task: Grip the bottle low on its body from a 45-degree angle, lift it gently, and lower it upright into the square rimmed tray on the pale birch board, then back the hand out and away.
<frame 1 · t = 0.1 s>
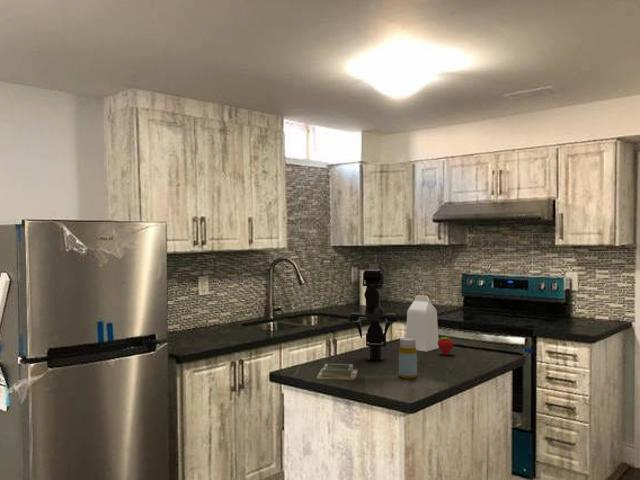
hand: (372, 338, 230), 15 cm above the worktop, tool pointing down, fingers open, 9 cm apart
bottle: (407, 377, 226), on the worktop
strawberry: (445, 355, 265), on the worktop
square rimmed tray: (337, 374, 230), on the worktop
milk: (422, 348, 283), on the worktop
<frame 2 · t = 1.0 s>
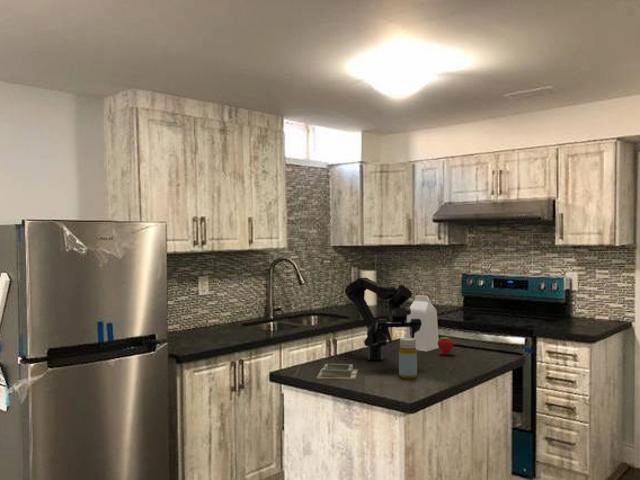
hand: (401, 342, 233), 12 cm above the worktop, tool tilted 45°, fingers open, 9 cm apart
nothing on the worktop moved.
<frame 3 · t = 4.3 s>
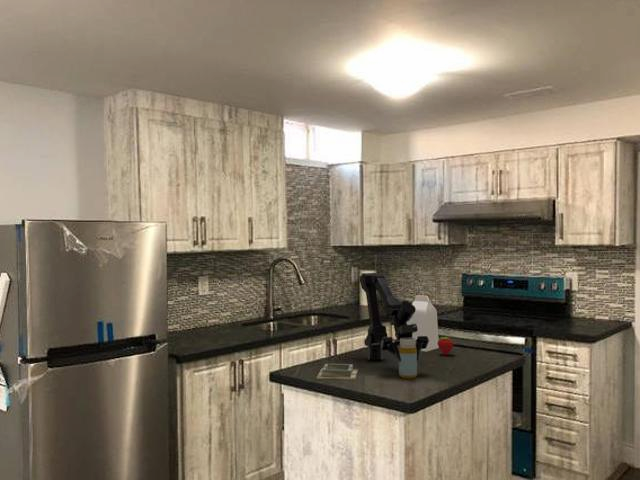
hand: (408, 360, 225), 7 cm above the worktop, tool tilted 45°, fingers closed on bottle, 7 cm apart
bottle: (407, 377, 226), on the worktop, touching gripper
everything else where it was.
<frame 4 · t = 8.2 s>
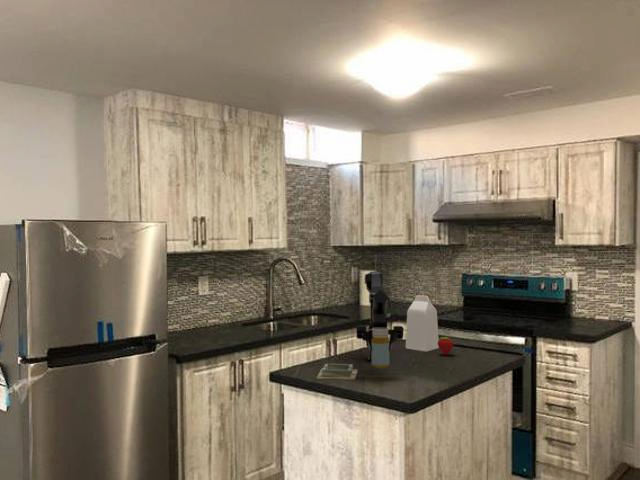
hand: (380, 350, 223), 11 cm above the worktop, tool tilted 45°, fingers closed on bottle, 7 cm apart
bottle: (380, 366, 225), point 4 cm above the worktop, touching gripper
everything else where it was.
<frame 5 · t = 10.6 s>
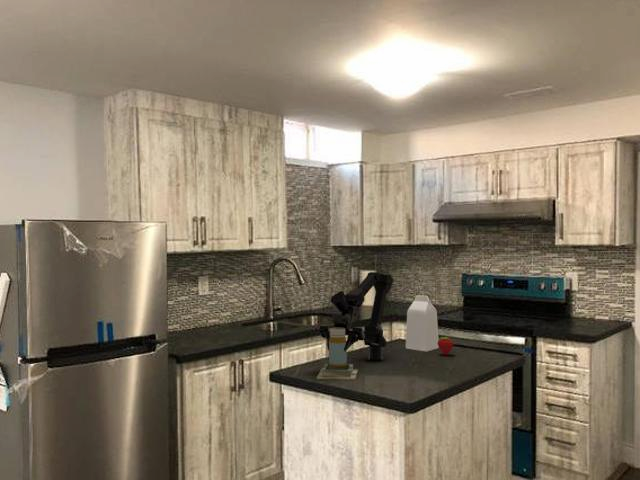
hand: (336, 350, 229), 10 cm above the worktop, tool tilted 45°, fingers closed on bottle, 7 cm apart
bottle: (338, 366, 230), point 3 cm above the worktop, touching gripper
everything else where it was.
when the fingers open (8 cm above the worktop, at t = 12.4 s): bottle stays where it is, resting on square rimmed tray.
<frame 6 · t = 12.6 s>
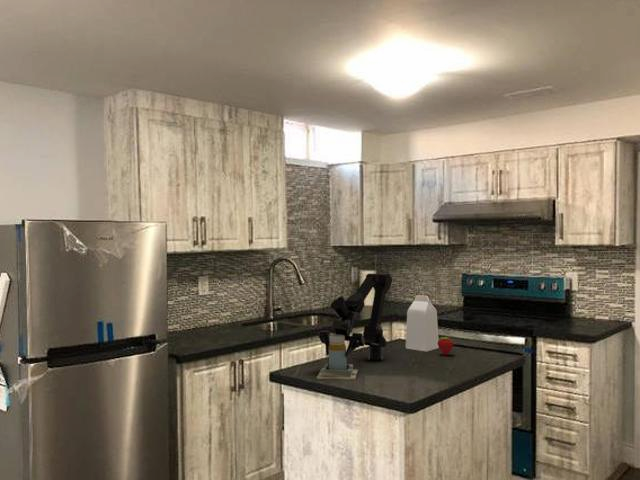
hand: (336, 355, 229), 8 cm above the worktop, tool tilted 45°, fingers open, 8 cm apart
bottle: (338, 373, 230), point 1 cm above the worktop, touching square rimmed tray, gripper
everything else where it was.
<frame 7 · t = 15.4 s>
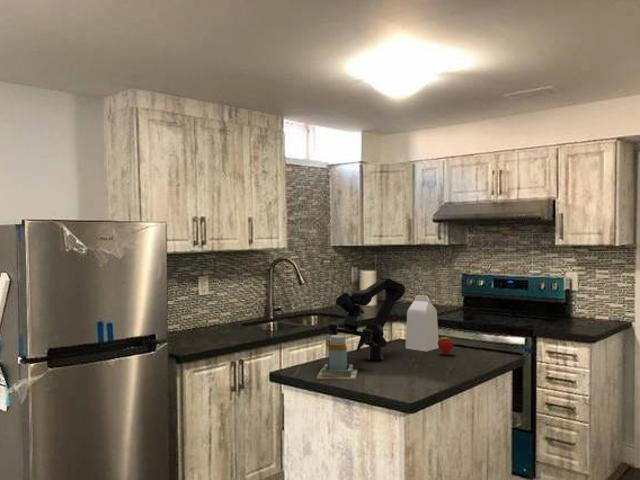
hand: (345, 350, 237), 8 cm above the worktop, tool tilted 40°, fingers open, 9 cm apart
bottle: (338, 373, 230), resting on square rimmed tray
everything else where it was.
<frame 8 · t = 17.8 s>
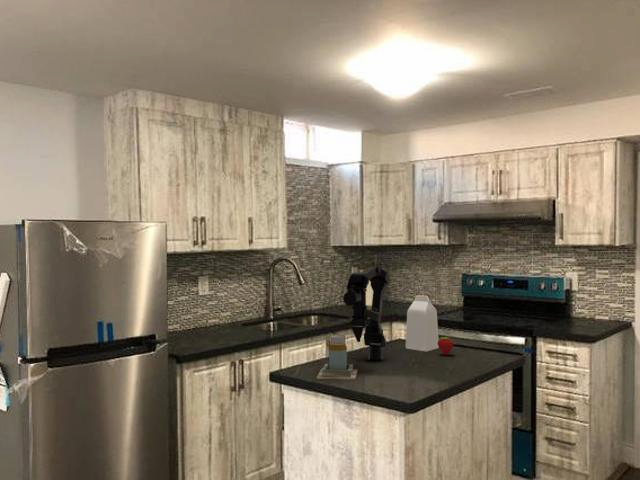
hand: (359, 339, 241), 12 cm above the worktop, tool pointing down, fingers open, 9 cm apart
nothing on the worktop moved.
at the end: bottle 0.3 cm off-centre on the square rimmed tray, point 0.4 cm above the square rimmed tray's base; bottle tilted 0°; the gripper is holding nothing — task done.
